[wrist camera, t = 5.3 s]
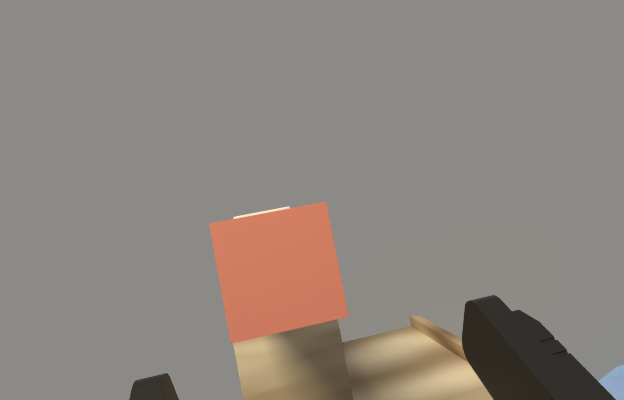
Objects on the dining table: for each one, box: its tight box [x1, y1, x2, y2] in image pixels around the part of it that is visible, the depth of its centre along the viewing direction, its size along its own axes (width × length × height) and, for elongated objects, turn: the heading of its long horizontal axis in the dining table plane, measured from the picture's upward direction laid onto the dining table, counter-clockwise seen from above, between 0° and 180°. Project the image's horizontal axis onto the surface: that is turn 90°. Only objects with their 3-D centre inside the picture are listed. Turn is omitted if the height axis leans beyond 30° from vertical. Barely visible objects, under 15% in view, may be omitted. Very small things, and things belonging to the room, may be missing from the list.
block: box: [209, 202, 348, 344], centre depth 22 cm, size 23×4×4 cm, turn 7°
